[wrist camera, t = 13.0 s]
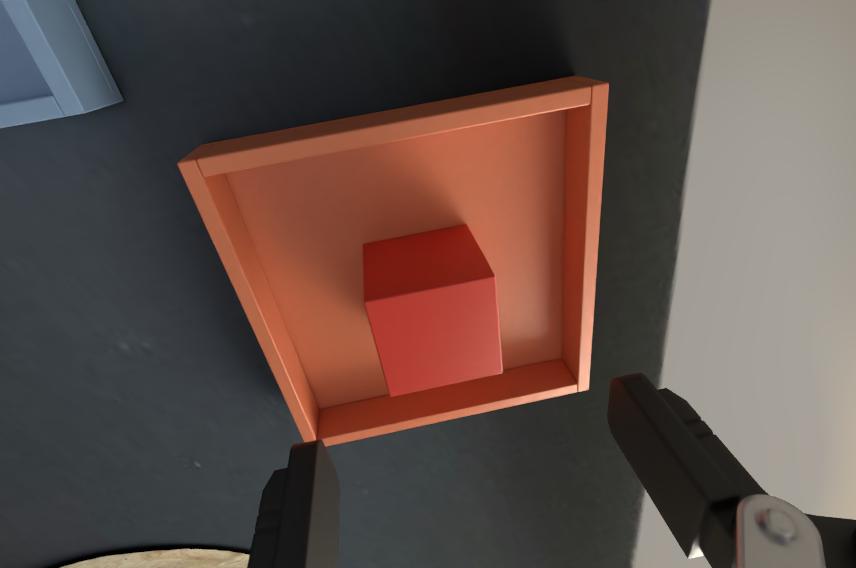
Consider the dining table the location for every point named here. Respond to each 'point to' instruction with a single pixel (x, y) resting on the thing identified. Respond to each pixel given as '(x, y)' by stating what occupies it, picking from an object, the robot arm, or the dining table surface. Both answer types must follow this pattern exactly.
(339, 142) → the orange tray
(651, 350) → the dining table surface
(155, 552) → the pie
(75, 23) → the blue tray
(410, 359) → the red block
